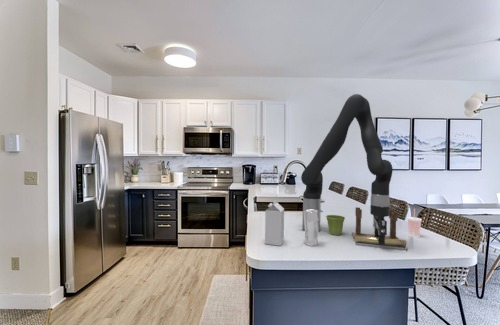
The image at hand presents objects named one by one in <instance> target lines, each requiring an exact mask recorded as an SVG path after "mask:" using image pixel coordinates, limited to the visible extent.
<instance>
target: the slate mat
mask: <svg viewBox="0 0 500 325" xmlns="http://www.w3.org/2000/svg"><path fill="white" fill-rule="evenodd" d="M353 242H354V244H355V246H362V247H372V248H379V249H380V248H381V249H390V250H398V251H399V250H400V251H408V248H407V246H406V247H398V246H389V245H379V244H370V243H360V242H355V239H353Z"/></svg>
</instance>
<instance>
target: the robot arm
mask: <svg viewBox="0 0 500 325" xmlns="http://www.w3.org/2000/svg"><path fill="white" fill-rule="evenodd" d="M354 119H356V121H357V123H358V127H359V129H360V139H361V143H362V146H363V148H364V152H365V153H366V163H367V168H368V171H369V172H370V174H372V175H373V176H375V179H374V180H373V181H372V182H371V187H370V188H371V190H370V192H371V193H370V194H371V195H370V215H372V216H373V221H372V222H373V223H372V224H373V225H372V226H373V229H374V235H375V237H379V244H385V236H388V232H387V231H388V227H387V226H388V225H387V224H388V221H387V220H385V217H389V215H390V210H391V207H390V206H391V203H390V202H391V199H390V183H391V180H392V176H393V165H392V162H390V160H388V159H383V158H382V153H383V152H384V148H383V146H382V143H381V140H380V137H379V134H378V133H377V129H376V127H375V124H374V121H373V117H372V110H371V104H370V102H369V100H368V99H367V98H366V97H364V96H363V95H362V94H359V93H355V94H352V95H351V96H348V98H347V99H346V100H345V103H344V104H343V106H342V108H341V110H340V112H339V115H338V116H337V118H336V120H335V121H334V124H332V127H331V128H330V130H329V132H328V133H327V135H326V136H325V137H324V139H323V141H322V143H321V144H320V146H319V147H318V150H316V153H315V154H314V156H313V158H312V159H311V161H309V163H308V165H307V166H306V167H305V168H304V170H303V171H302V173H301V176H300V178H301V179H300V180H301V182H302V184H303V185H305V187H306V188H305V190H304V191H303V193H302V194H303V195H302V200H303V201H302V203H303V204H302V231H305V228H304V210H306V209H315V210H319V214H320V219H321V210H322V208H321V207H322V206H321V202H322V200H321V199H322V193H323V182H324V179H323V177H324V176H323V173H322V171H323V170H324V168H325V167H326V165H327V164H328V163H329V162H331V160H333V158H334V157H336V155H337V154H338V153H339V151H340V150H341V149H342V147H343V146H344V144H345V142H346V139H347V136H348V131H349V128H350V127H351V124H352V123H353V121H354ZM318 232H321V223H320V224H319V230H318Z"/></svg>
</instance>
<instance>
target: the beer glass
mask: <svg viewBox="0 0 500 325" xmlns="http://www.w3.org/2000/svg"><path fill="white" fill-rule="evenodd" d="M319 224H320V225H321V218H320V214H319V210H315V209H306V210H304V228H305V230H304V234H305V237H304V244H305V245H306V246H308V247H317V246H319V238H318V236H319V231H318V230H319Z"/></svg>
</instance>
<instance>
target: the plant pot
mask: <svg viewBox="0 0 500 325" xmlns="http://www.w3.org/2000/svg"><path fill="white" fill-rule="evenodd" d="M325 218H326V221H327V226H328V234H330V235H335V236H340V235H342V233H343V226H344V222H345V220H346V217H345V216H343V215H337V214H328V215H326V216H325Z"/></svg>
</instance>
